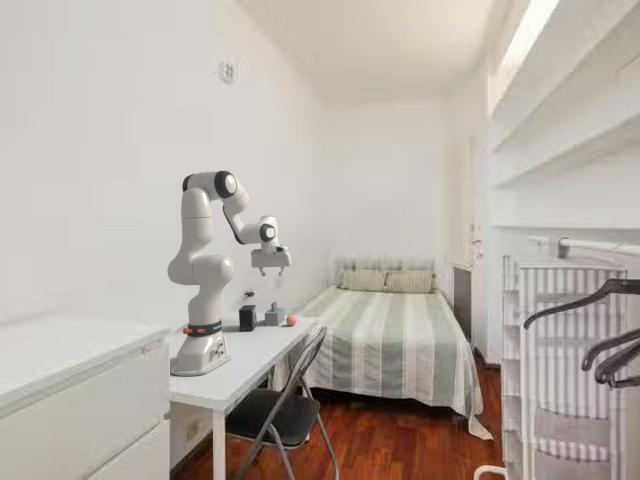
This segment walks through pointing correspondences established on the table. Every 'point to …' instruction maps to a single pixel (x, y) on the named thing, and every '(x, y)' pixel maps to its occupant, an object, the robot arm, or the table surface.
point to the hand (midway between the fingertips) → (272, 276)
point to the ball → (291, 320)
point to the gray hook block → (274, 315)
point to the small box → (247, 318)
